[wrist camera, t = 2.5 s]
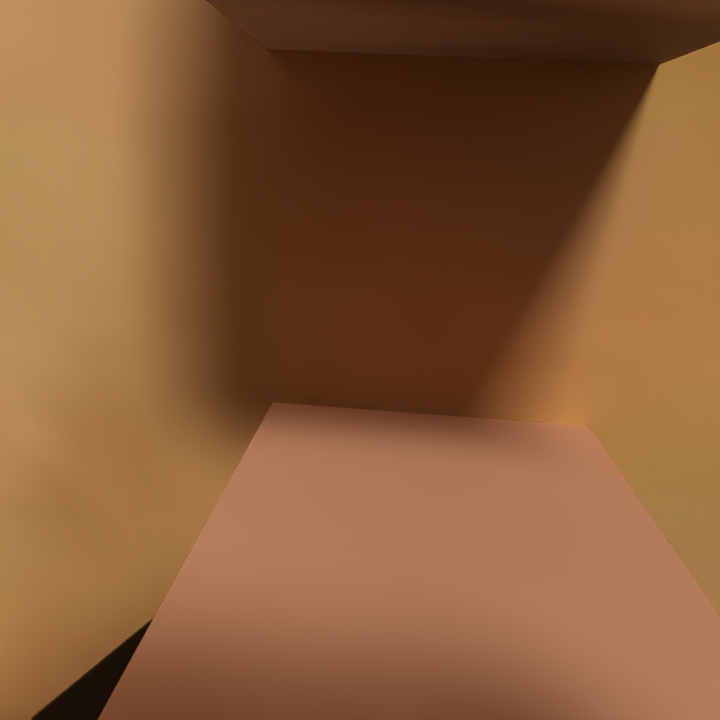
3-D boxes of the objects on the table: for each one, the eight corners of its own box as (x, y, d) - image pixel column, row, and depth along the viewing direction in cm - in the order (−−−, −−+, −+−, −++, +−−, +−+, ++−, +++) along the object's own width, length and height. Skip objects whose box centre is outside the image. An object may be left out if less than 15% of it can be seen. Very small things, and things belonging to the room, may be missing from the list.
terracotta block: (587, 425, 9) (922, 910, 3) (538, 666, 10) (695, 1260, 5) (272, 401, 9) (49, 806, 3) (274, 639, 11) (128, 1173, 5)
